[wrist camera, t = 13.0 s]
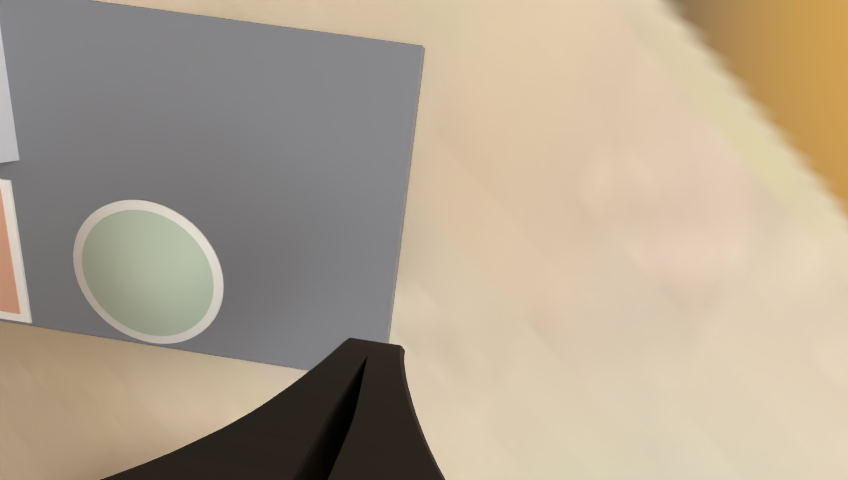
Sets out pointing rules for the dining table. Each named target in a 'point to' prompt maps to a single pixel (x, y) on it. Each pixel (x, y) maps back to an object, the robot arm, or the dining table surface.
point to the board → (201, 179)
